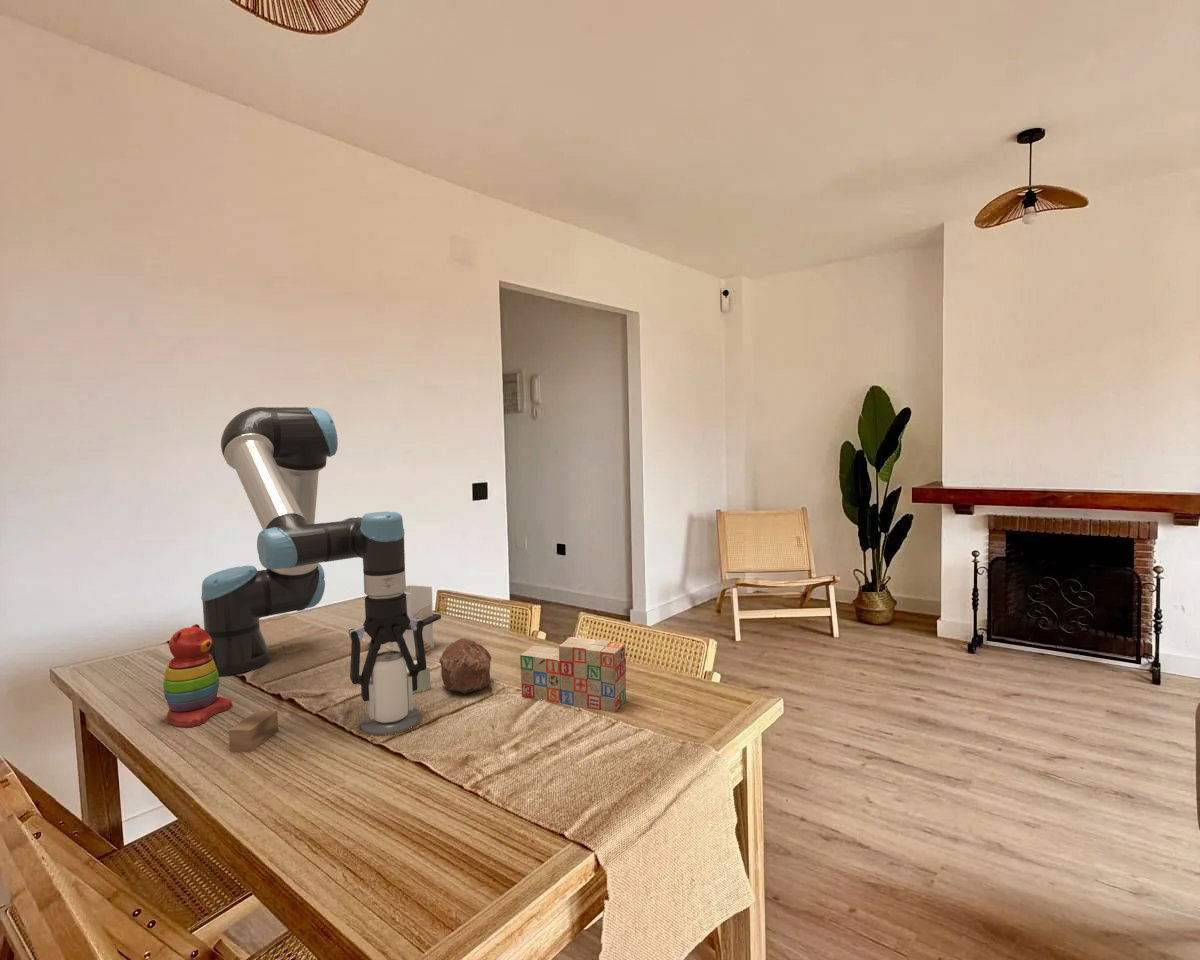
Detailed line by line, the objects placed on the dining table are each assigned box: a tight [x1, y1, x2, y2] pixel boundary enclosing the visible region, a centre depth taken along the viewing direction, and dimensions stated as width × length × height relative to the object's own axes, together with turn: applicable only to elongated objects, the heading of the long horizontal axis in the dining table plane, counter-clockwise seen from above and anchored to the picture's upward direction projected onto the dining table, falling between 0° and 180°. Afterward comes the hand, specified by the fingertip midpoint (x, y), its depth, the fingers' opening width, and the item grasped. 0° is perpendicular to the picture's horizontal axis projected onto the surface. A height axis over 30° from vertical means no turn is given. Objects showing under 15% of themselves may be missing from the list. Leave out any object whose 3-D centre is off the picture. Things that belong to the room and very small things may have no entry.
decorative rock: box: [439, 637, 492, 694], centre depth 139 cm, size 13×11×10 cm
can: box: [370, 650, 408, 723], centre depth 122 cm, size 6×6×12 cm
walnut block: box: [228, 709, 279, 753], centre depth 116 cm, size 8×4×4 cm, turn 174°
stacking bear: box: [162, 623, 233, 728], centre depth 127 cm, size 11×10×18 cm
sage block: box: [406, 659, 431, 694], centre depth 139 cm, size 6×6×5 cm
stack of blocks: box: [519, 636, 627, 714], centre depth 131 cm, size 21×6×12 cm, turn 67°
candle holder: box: [391, 584, 442, 658], centre depth 163 cm, size 25×24×16 cm
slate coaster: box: [360, 706, 422, 736], centre depth 123 cm, size 11×11×1 cm
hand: (390, 711), depth 123 cm, fingers closed on can, 6 cm apart
